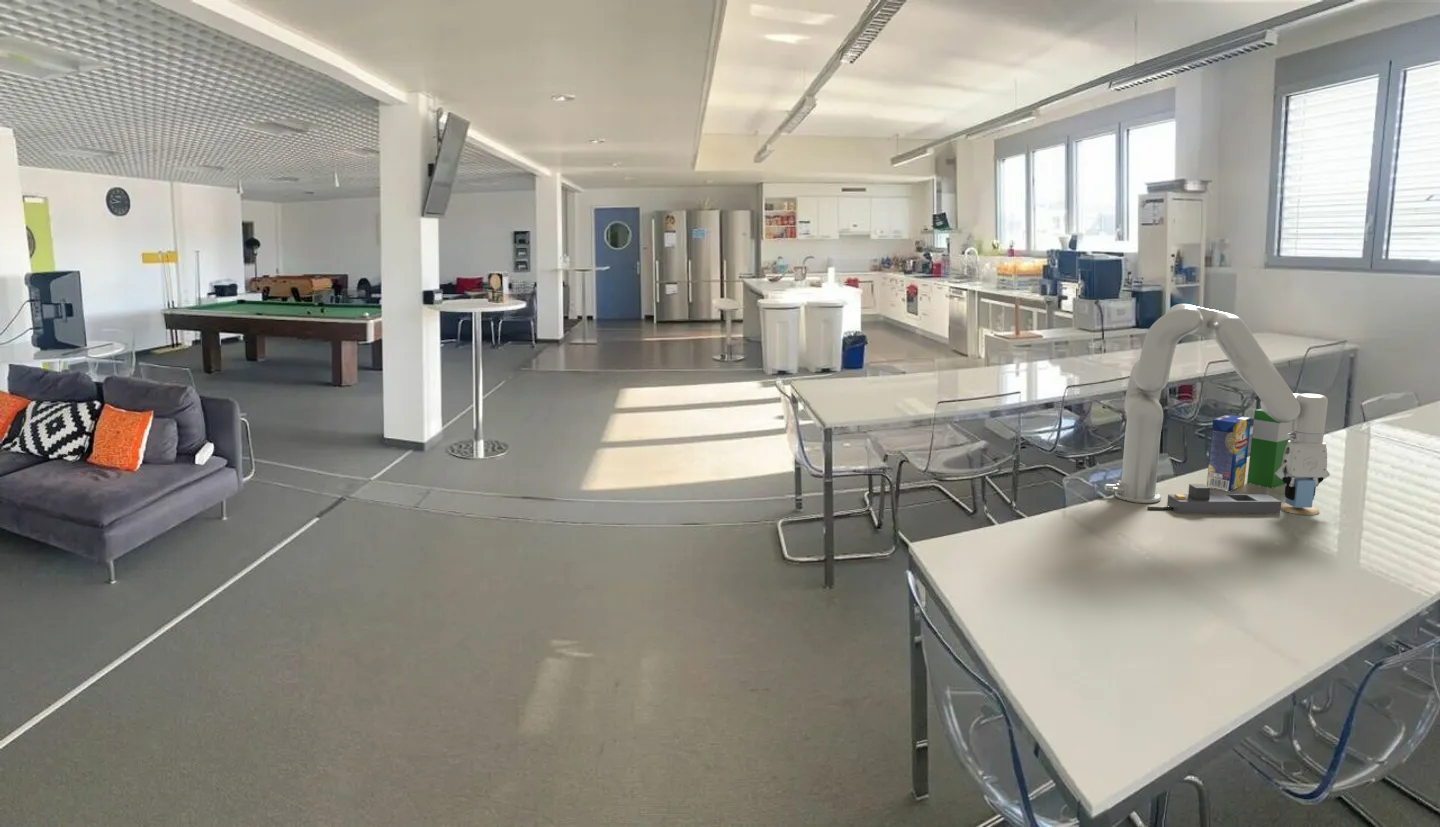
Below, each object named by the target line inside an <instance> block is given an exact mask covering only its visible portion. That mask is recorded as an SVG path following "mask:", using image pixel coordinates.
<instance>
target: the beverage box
mask: <svg viewBox="0 0 1440 827" xmlns="http://www.w3.org/2000/svg"><path fill="white" fill-rule="evenodd" d="M1251 425H1252V417H1249V416H1242V415H1241V416H1240V415H1234V414H1233V415H1232V414H1225V415H1222V416H1220V417H1216V418H1214V419H1212V427H1211V438H1210V448H1209V457H1208V467H1207V478H1206V486H1208V487H1212V488H1211V489H1214V488H1218V489H1217V490H1219V489H1223V490H1222V491H1224V490H1227V491H1226V492H1229V491H1230V492H1232V491H1231V490H1233V491H1234V489H1235V490H1237V489H1239V488H1241V487H1243V486H1244V485H1245V481H1246V471H1247V469H1246V468H1247V462H1248V461H1247V460H1248V454H1249V442H1250V433H1251ZM1242 485H1243V486H1242ZM1240 486H1241V487H1240ZM1238 487H1239V488H1238ZM1236 488H1237V489H1236Z"/></svg>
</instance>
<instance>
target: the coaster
mask: <svg viewBox="0 0 1440 827" xmlns="http://www.w3.org/2000/svg"><path fill="white" fill-rule="evenodd" d="M1280 511H1282V512H1284V511H1285V512H1284V513H1288V512H1289V514H1292V513H1293V514H1292V515H1299V516H1316V515H1319V514H1320V512H1321V511H1320V509H1318V508H1316V507H1314V506H1312V507H1293V506H1291V505H1289V504H1287V503H1285V502H1281V510H1280Z"/></svg>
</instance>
